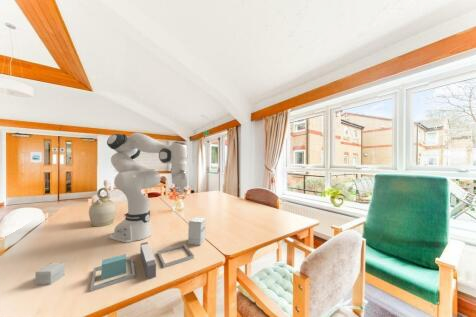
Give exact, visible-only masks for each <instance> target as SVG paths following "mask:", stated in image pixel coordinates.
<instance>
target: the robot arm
mask: <svg viewBox="0 0 476 317" xmlns="http://www.w3.org/2000/svg"><path fill="white" fill-rule="evenodd" d="M106 145H107V147H109V148H110V149H111V150H113V151H115V152H116V153H114V154H113V155H112V156H111V157H110V162H111V165H112V166H113V168H114V169H115V170H116V171H117V174H116V176H115V177H114V181H113V182H114V187H115V188H117V190H118V191H121V192H122V193H123V194H124V195H125V197H126V199H127V210H128V211H127V213H125V214H123V217H125V218H124V220H122V221H121V222H120V223H118V224H117V225H115V228H114V232H113V233H112V234H110V235H109V236H108V237H109V239H110V240H114V241H117V242H121V243H125V244H127V243H131V242H136V241H142V240H144V239H147V238H149V237H151V236H152V229H151V224H150V222H151V221H150V220H151V219H150V218H151V210H150V198H149V196H147V195H146V194H143V193H142V191H141V190H142V189H148V188H153V187H156V186H158V185H159V184H160V182H161V178H162V177H161V174H160V172H159V171H157V170H154V169H150V168H147V167H145V166H143V165H141V164H140V163H137V162H136V161H135V159H136V158H138V157H139V156H140V154H141V152H143V153H148V154H150V153H151V154H158V158H159V160H160V162H161V163H162V164H171V167H170V172H171V182H172V185H173V184H174V191H175V193H178V192H179V195H184V190H185V188H187V187H188V176H187V174H188V173H187V172H188V162H187V161H188V147H187V144H186V143H185V142H181V141H173V142H172V143H170V145H168V144H166V143H164V142H161V141H159V140H156V139H155V138H153V137H151V136H149V135H147V134H144V133H141V132H134V133H132V134H130V135H129V136H127V135H126V134H125V133H123V134H120V133H114V134H112V135H110V136H109V137H108V138H107V140H106Z"/></svg>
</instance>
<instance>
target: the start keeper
mask: <svg viewBox="0 0 476 317" xmlns="http://www.w3.org/2000/svg"><path fill="white" fill-rule="evenodd" d="M181 248H184V249H185V251H186V252H187V253H188V256H185V257H182V258H178V259H175V260H172V261H168V262H166V263H165V261H164V259H163V256H162V254H164V253H167V252H171V251H174V250H177V249H181ZM156 255H157V256H158V258H159V262H160V263H161V266H162V268H167V267H171V266H174V265H177V264H180V263H183V262H186V261H188V260H193V259H194V258H195V255H194V253H193V251H191V250H190V249H189V247H188V246H187V245H186V244H185V243H183V244H179V245H176V246H170V247H167V248H164V249H163V248H162V249H160V250H157V251H156Z"/></svg>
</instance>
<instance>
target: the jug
mask: <svg viewBox="0 0 476 317" xmlns="http://www.w3.org/2000/svg"><path fill="white" fill-rule="evenodd" d="M102 191H105V192H106V195H104V196H102V195H101V192H102ZM110 194H111V193H110V190H109V189H108V188H107V187H100V188H99V189H97V191H96V196H97V198H98V199H97V200H96V201H95V202H93V203H92V204H91V205H90V207H89V209H88V216H89V220H90V224H91V226H93V227H105V226H108V225H111V224H113V223H114V221H115V217H116V213H117V205H116V203H115V202H114V201H113V200H111V196H110Z"/></svg>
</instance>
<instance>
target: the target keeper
mask: <svg viewBox="0 0 476 317" xmlns="http://www.w3.org/2000/svg"><path fill="white" fill-rule="evenodd" d="M127 263H130V268H131V273H130V274H127V275H124V276H121V277H120V276H119V277H118V278H114V279H111V280H108V281H104V282H100V283H98V284H95V283H96V282H95V281H96V274H97V272H98V271H102V265H99V266H95V267H93V270H92V276H91V282H90V288H89V290H90V292H93V291H96V290H100V289H102V288H103V289H104V288H106V287H109V286H111V285H114V284H118V283H120V282H121V283H122V282H124V281H127V280H130V279H133V278H136V272H135V271H136V270H135V265H134V260H133V257H129V258H126V264H127Z"/></svg>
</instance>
